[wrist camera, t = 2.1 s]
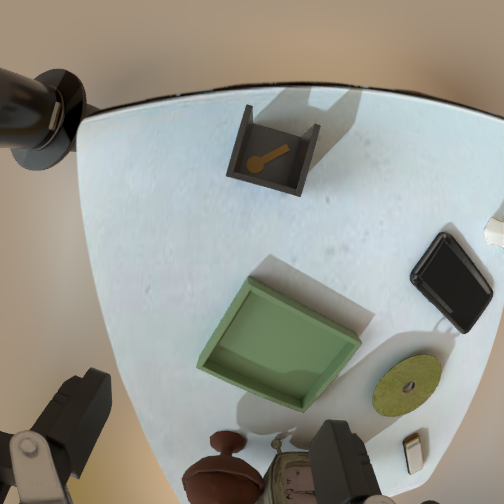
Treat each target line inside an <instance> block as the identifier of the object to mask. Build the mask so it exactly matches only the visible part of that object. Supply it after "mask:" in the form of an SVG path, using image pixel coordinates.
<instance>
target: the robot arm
mask: <svg viewBox="0 0 504 504" xmlns="http://www.w3.org/2000/svg"><path fill="white" fill-rule="evenodd" d="M65 113H66V102H65V98H64V95H63V93H62V92H61V91H60V90H59V89H58V88H56V87H53V86H49V85H46V84H43V83H41V82H39V81H36V80H33V79H31V78H28V77H25V76H23V75H20V74H17V73H14V72H11V71H8V70H6V69H3V68H0V148H13V149H27V150H31V151H38V150H42V149H44V148H46V147H47V146H48V145H50V144H51V143H52V142H53V140H54V139H55V138H56V137H57V135H58V133H59V132H60V130H61V127H62V125H63V122H64V119H65ZM111 406H112V392H111V376H110V374H108V373H105V372H102V371H100V370H97V369H94V368H90V369H89V370H88V371H87V372H86V374H85V375H84V377H83V378H81V377H78V376H76V375H75V376H73V377H72V378H70V379H68V380H67V381H65V382H64V383H63V384H62V386H61V387H60V388H59V390H58V392H57V393H56V394H55V395H54V397H53V398H52V400H51V401H50V402H49V404H48V405H47V407H46V408H45V409H44V411H43V412H42V414H41V415H40V416H39V418H38V419H37V421H36V422H35V424H34V425H33V427H32V428H31V429H30V430H25V431H20V432H18V433H16V434H8V433H5V432H1V431H0V504H3V503H4V500H5V498H6V496H7V494H8V491H9V489H10V487H11V485H12V486H15V487H17V489H18V494H19V498H20V503H19V504H73V501H72V499H71V496H70V493H69V491H68V488H67V485H66V483H67V481H68V479H69V477H70V476H73V477H75V478H77V479H79V478H80V476H81V474H82V471H83V469H84V467H85V465H86V463H87V461H88V458H89V456H90V454H91V452H92V450H93V448H94V446H95V443H96V441H97V439H98V437H99V435H100V433H101V431H102V429H103V427H104V425H105V423H106V421H107V419H108V416H109V414H110V411H111ZM309 461H310V466H311V472H312V478H313V483H314V489H315V495H316V501H317V504H395V502H394V501H393V500H392V499H391V498H389V497H387V496H384V495H382V493H381V491H380V488H379V485H378V482H377V479H376V476H375V473H374V470H373V468H372V465H371V464H370V459H369V456H368V455H367V451H366V448H365V445H364V443H363V441H362V440H361V439H360V438H359V437H358V435H357V434H356V433H351V431H350V428H349V425H348V423H347V422H346V421H342V420H326V421H325V422H324V423H323V425H322V426H321V428H320V430H319V431H318V433H317V434H316V436H315V437H314V439H313V441H312V442H311V444H310V447H309ZM422 504H439V503H437V502H435V501H430V500H429V501H425V502H423V503H422Z"/></svg>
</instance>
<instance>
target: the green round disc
mask: <svg viewBox="0 0 504 504" xmlns="http://www.w3.org/2000/svg"><path fill="white" fill-rule="evenodd" d="M440 377H441V365H440V363H439V361H438V360H437V359H436V358H435V357H433V356H430V355H416V356H414V357H410V358H408V359H406V360H404V361H402V362H400V363H399V364H397V365H396V366H395V367H393V368H392V369H391V370H390V371H389V372H388V373H386V375H384V377H383V378H382V379H381V380H380V382H379V384H378V385H377V387H376V389H375V391H374V395H373V405H374V408H375V409H376V411H377V412H378V413H380V414H382V415H384V416H389V417H395V416H400V415H403V414H407V413H409V412H411V411H413V410H415V409H416V408H418V407H419V406H421V405H422V404H423V403H424V402H425V401H426V400H427V399H428V398H429V397H430V396H431V394H432V393H433V392H434V391H435V389H436V387H437V386H438V384H439V381H440Z"/></svg>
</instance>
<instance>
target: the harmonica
mask: <svg viewBox="0 0 504 504" xmlns="http://www.w3.org/2000/svg"><path fill="white" fill-rule="evenodd" d="M403 446H404V452H405V457H406V463H407V468H408V473H409V474H410V475H412V474H414V473H416V472H418V471H420V470H421V469H422V468H423V460H422V448H421V444H420V438H419V435H418V433H417V434H415V435H413V436H411V437H409V438H407V439H405V440H403Z"/></svg>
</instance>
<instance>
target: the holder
mask: <svg viewBox="0 0 504 504" xmlns="http://www.w3.org/2000/svg"><path fill="white" fill-rule="evenodd" d="M319 130H320V125H317V124H314V125H313V126H312V127H311V128H310V129H309V130H308V131H307V132H306V133H305V134H304V135H303V136H302V137H298V136H295V135H291V134H288V133H285V132H281V131H278V130H274V129H270V128H267V127H263V126H259V125H256V124H253V106H251V105H246V108H245V111H244V114H243V118H242V121H241V124H240V128H239V131H238V135H237V138H236V141H235V145H234V148H233V152H232V155H231V159H230V162H229V166H228V170H227V173H226V176H227V177H231V178H234V179H238V180H242V181H246V182H249V183H253V184H257V185H260V186H264V187H267V188H271V189H274V190H278V191H281V192H285V193H288V194H292V195H295V196H298V197H301V194H302V190H303V187H304V184H305V180H306V177H307V173H308V169H309V166H310V162H311V159H312V155H313V152H314V148H315V144H316V141H317V137H318V133H319ZM285 144H287V146H288V147H289V149H290V151H289V152H287V153H285V154H283V155H281V156H279V157H277V158H276V159H274V160H272V161H270V162H268V163H266V164H264V169H263V170H262V171H261V172H260V173H258V174H253V173H251V172H249V171H248V169H247V167H246V163H247V160H248V159H249V158H250V157H253V156H258V157H260V158H261V157H262V156H264V155H266V154H268V153H270V152H272V151H274V150H275V149H277V148H279V147H281V146H283V145H285Z"/></svg>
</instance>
